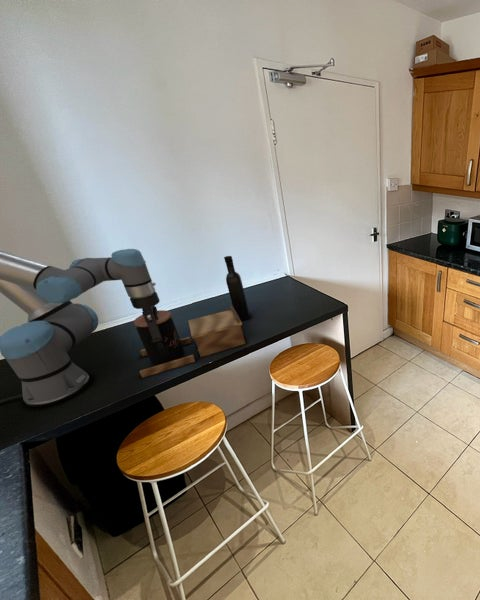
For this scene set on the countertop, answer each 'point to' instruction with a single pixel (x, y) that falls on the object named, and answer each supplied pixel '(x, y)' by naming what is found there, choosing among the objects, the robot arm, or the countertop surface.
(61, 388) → the robot arm
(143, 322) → the coffee jar
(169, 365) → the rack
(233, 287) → the wine bottle
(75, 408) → the countertop surface
